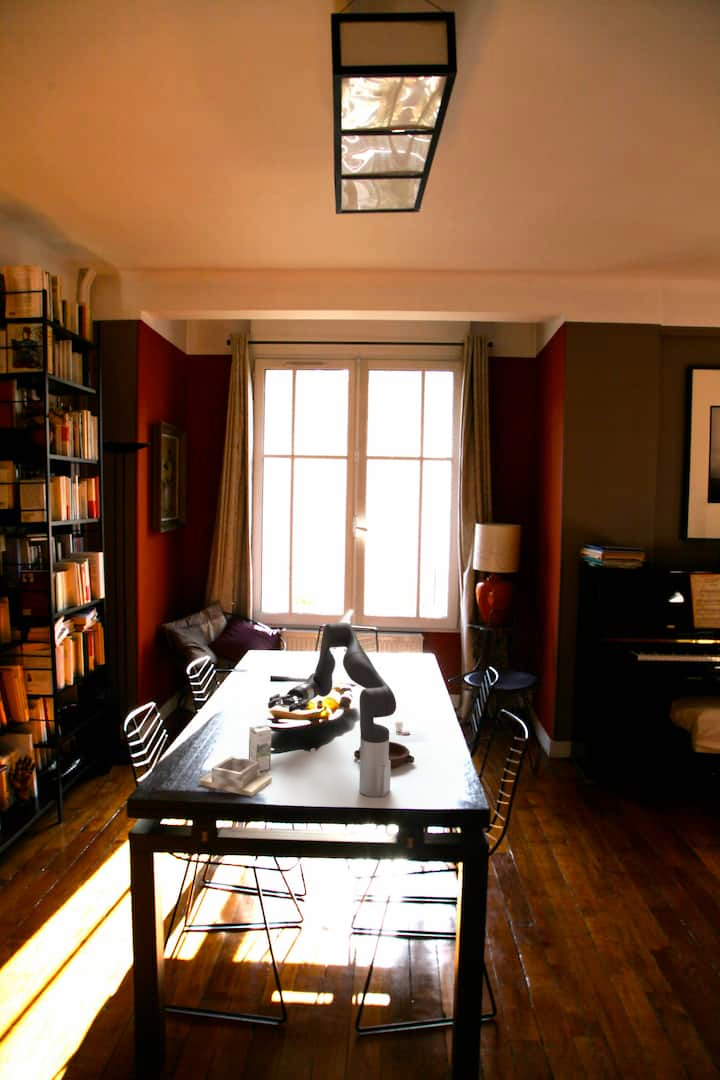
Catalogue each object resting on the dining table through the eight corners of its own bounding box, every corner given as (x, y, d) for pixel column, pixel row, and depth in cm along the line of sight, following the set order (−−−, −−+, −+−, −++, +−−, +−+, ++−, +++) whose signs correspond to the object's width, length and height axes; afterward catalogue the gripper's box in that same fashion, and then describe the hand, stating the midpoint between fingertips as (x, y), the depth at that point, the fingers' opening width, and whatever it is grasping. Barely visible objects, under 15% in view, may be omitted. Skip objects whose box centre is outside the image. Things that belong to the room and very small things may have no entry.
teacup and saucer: (412, 735, 244) (412, 725, 244) (393, 736, 243) (393, 726, 243) (405, 728, 253) (406, 718, 253) (387, 729, 251) (387, 719, 251)
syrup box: (263, 764, 212) (263, 723, 211) (270, 769, 207) (271, 728, 207) (248, 767, 208) (248, 726, 208) (256, 773, 204) (256, 731, 203)
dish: (411, 776, 205) (412, 761, 205) (348, 769, 209) (349, 755, 209) (416, 756, 222) (416, 743, 222) (358, 751, 226) (358, 738, 226)
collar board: (271, 781, 198) (272, 763, 198) (251, 796, 187) (252, 777, 187) (221, 770, 206) (221, 753, 205) (199, 784, 194) (199, 766, 194)
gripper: (284, 683, 235) (262, 694, 220) (317, 688, 229) (296, 700, 214) (284, 702, 235) (262, 714, 220) (316, 707, 230) (296, 721, 215)
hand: (279, 707), depth 217 cm, fingers open, 8 cm apart
